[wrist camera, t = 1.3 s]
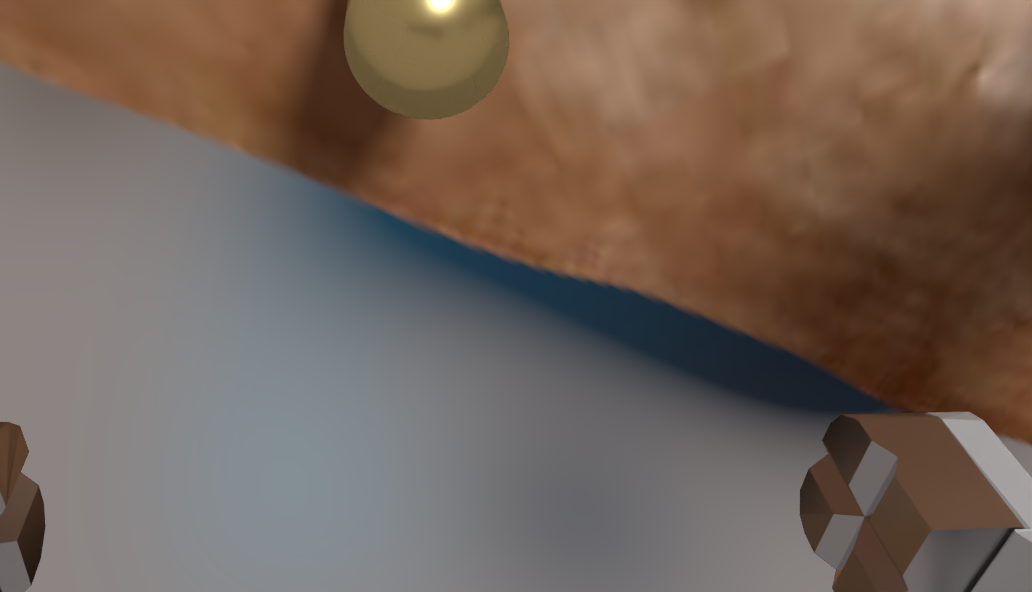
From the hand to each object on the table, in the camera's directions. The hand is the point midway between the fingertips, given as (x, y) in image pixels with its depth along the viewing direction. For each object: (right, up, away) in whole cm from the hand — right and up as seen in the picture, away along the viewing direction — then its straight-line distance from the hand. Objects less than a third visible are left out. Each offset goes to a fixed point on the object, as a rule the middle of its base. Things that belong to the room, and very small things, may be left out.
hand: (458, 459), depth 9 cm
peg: (-2, +13, +18) cm, 22 cm away
